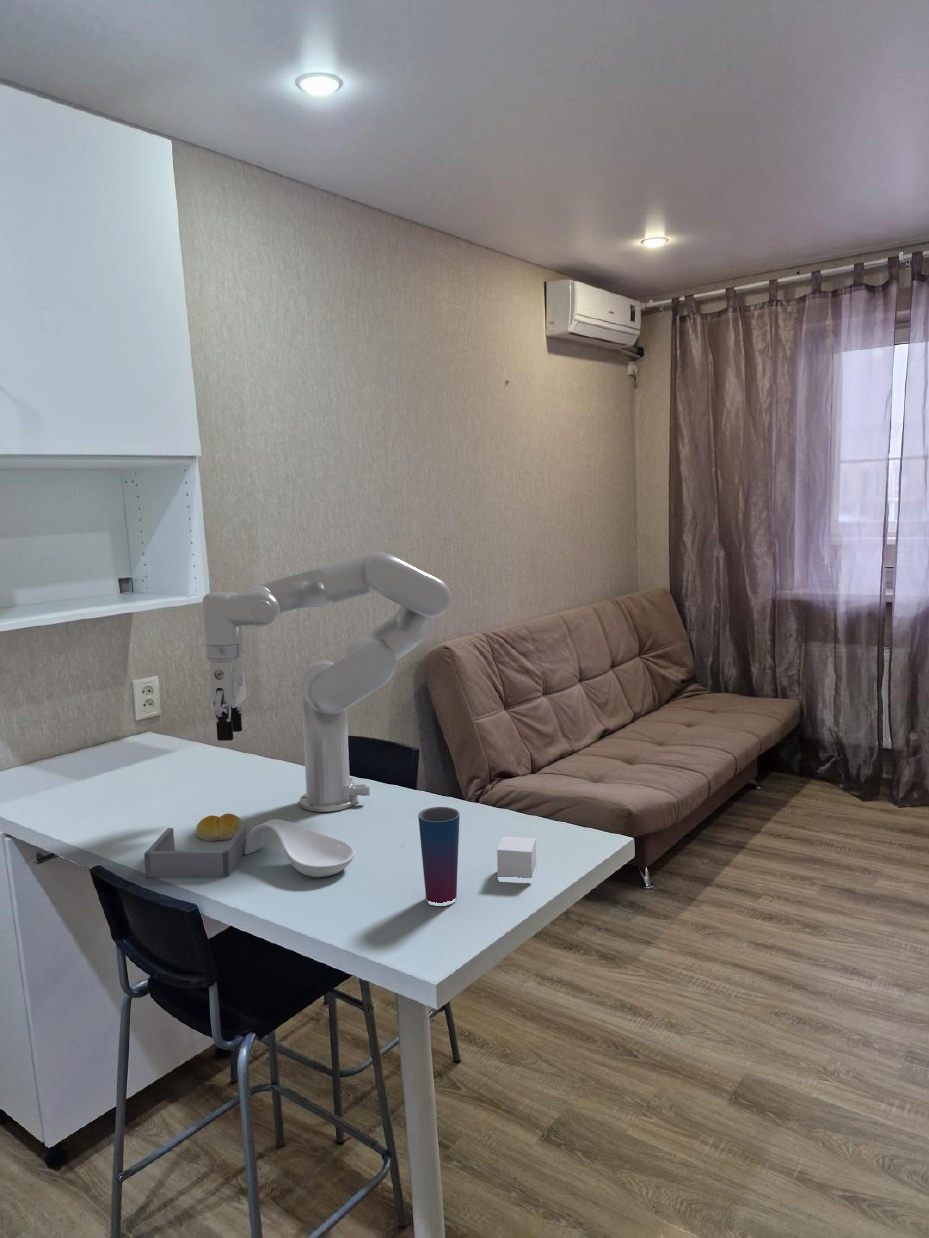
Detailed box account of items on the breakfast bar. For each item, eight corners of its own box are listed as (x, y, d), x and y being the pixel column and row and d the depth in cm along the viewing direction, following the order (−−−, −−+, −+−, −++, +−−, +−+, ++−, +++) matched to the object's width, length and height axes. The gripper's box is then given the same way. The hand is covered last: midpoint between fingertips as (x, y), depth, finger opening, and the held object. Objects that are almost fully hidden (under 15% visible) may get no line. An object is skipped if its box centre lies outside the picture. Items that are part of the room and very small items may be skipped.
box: (246, 849, 169) (245, 826, 168) (229, 876, 157) (227, 852, 156) (169, 850, 169) (167, 827, 168) (146, 877, 157) (144, 853, 157)
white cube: (536, 870, 157) (536, 838, 156) (531, 885, 151) (531, 851, 150) (503, 867, 158) (502, 836, 157) (497, 882, 152) (496, 849, 152)
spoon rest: (368, 866, 161) (366, 828, 160) (325, 891, 151) (323, 851, 150) (273, 841, 173) (271, 806, 172) (228, 863, 163) (226, 826, 162)
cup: (461, 890, 150) (459, 805, 147) (462, 908, 143) (460, 821, 141) (421, 891, 149) (418, 807, 147) (420, 910, 143) (417, 822, 140)
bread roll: (200, 828, 180) (198, 810, 180) (244, 825, 181) (243, 807, 181) (192, 844, 172) (191, 825, 172) (239, 841, 173) (238, 821, 173)
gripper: (230, 659, 173) (236, 747, 176) (253, 643, 191) (258, 724, 193) (193, 659, 174) (199, 747, 176) (219, 644, 191) (224, 725, 193)
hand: (230, 734), depth 185 cm, fingers open, 5 cm apart
